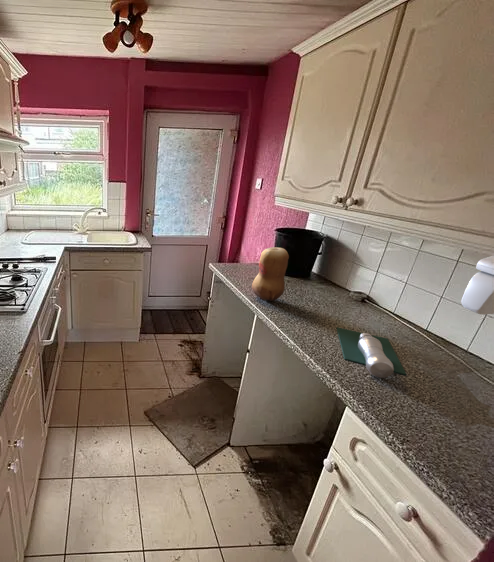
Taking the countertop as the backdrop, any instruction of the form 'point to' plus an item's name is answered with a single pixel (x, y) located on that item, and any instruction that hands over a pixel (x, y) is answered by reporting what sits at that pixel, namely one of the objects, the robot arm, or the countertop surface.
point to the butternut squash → (271, 274)
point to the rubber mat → (355, 355)
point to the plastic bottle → (375, 356)
